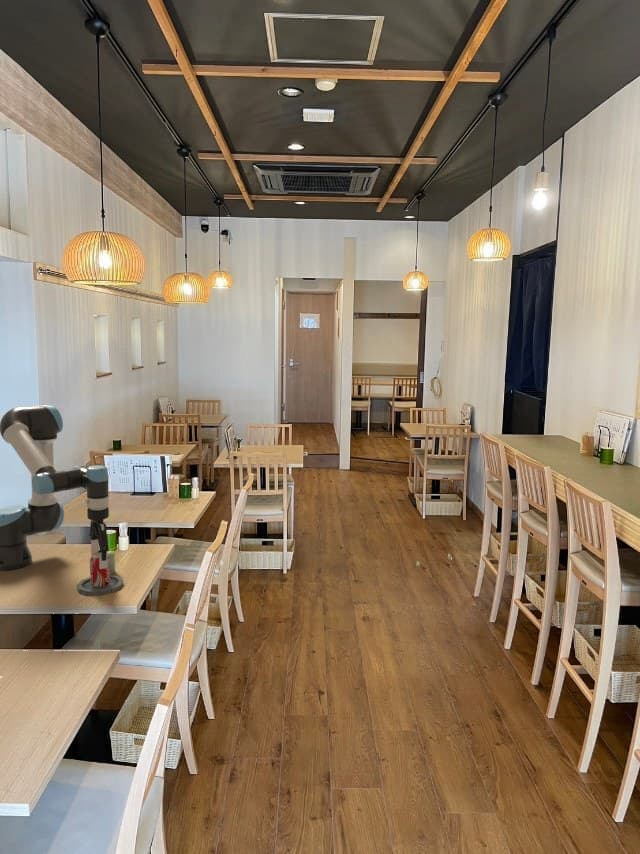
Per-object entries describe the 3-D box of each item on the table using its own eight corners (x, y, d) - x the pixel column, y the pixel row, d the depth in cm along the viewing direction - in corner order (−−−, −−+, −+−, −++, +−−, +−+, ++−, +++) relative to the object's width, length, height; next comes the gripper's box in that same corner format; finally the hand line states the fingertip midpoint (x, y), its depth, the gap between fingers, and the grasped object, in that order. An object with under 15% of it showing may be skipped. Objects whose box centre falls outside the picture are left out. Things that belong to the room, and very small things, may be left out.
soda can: (103, 589, 226) (102, 558, 224) (86, 587, 227) (85, 557, 225) (114, 582, 232) (113, 552, 231) (97, 580, 234) (96, 550, 232)
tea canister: (100, 571, 245) (99, 552, 244) (113, 568, 248) (112, 550, 246) (103, 575, 241) (102, 555, 240) (116, 572, 243) (115, 553, 242)
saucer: (73, 583, 233) (73, 579, 232) (116, 575, 241) (116, 571, 241) (82, 598, 219) (82, 594, 219) (127, 589, 228) (127, 586, 227)
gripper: (80, 500, 234) (81, 552, 237) (95, 518, 213) (96, 575, 217) (100, 498, 238) (101, 549, 241) (116, 515, 217) (117, 571, 221)
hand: (99, 562), depth 229 cm, fingers open, 13 cm apart
